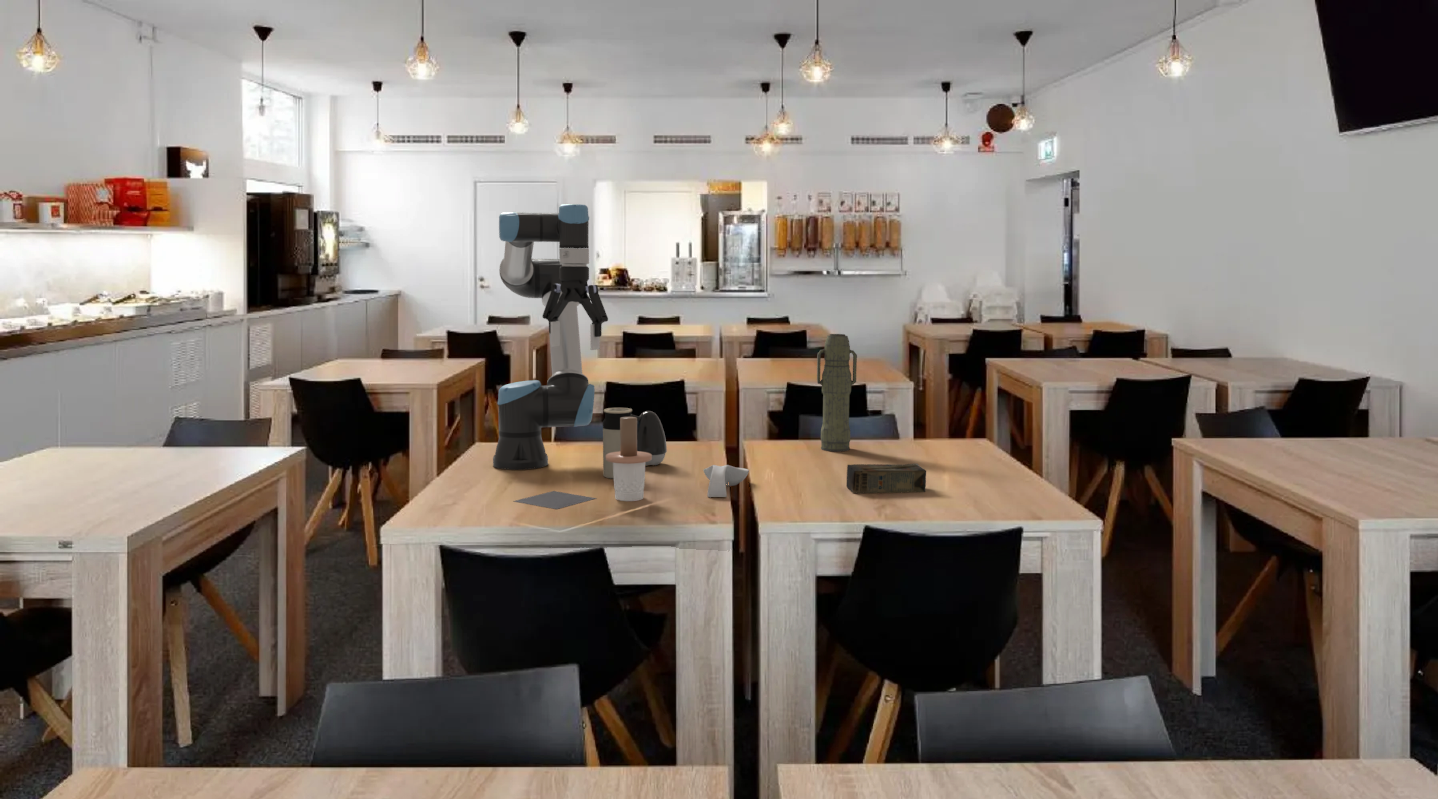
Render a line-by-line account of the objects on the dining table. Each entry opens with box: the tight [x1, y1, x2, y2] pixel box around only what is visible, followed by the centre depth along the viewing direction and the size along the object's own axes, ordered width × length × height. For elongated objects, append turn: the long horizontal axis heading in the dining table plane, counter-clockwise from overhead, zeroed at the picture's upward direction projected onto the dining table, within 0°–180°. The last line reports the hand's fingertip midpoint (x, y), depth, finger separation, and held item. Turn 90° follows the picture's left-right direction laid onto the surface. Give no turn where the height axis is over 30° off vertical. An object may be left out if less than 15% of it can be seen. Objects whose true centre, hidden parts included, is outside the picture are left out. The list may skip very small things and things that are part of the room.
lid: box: [606, 417, 652, 464], centre depth 263 cm, size 11×11×10 cm
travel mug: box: [602, 407, 633, 480], centre depth 291 cm, size 8×8×18 cm
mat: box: [512, 490, 597, 510], centre depth 262 cm, size 14×14×1 cm
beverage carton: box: [846, 463, 927, 494], centre depth 277 cm, size 8×19×7 cm, turn 98°
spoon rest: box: [702, 464, 750, 498], centre depth 278 cm, size 24×12×7 cm, turn 173°
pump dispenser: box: [630, 410, 668, 467], centre depth 308 cm, size 10×10×15 cm
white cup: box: [613, 462, 646, 502], centre depth 264 cm, size 8×8×10 cm
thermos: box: [816, 333, 858, 453], centre depth 333 cm, size 9×12×35 cm
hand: (575, 348), depth 284 cm, fingers open, 13 cm apart
